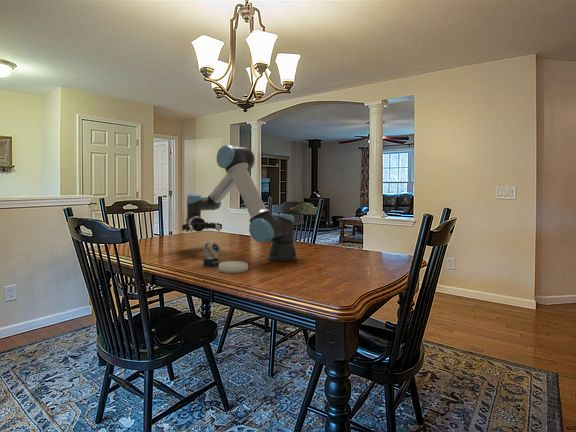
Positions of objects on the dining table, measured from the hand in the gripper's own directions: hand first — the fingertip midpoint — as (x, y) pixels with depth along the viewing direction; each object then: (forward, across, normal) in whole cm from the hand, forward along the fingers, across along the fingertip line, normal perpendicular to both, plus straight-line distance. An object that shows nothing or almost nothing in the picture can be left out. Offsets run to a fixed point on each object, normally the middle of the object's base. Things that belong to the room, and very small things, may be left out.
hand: (205, 229), depth 179 cm
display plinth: (+23, -7, -16) cm, 28 cm away
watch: (+10, 0, -16) cm, 19 cm away
